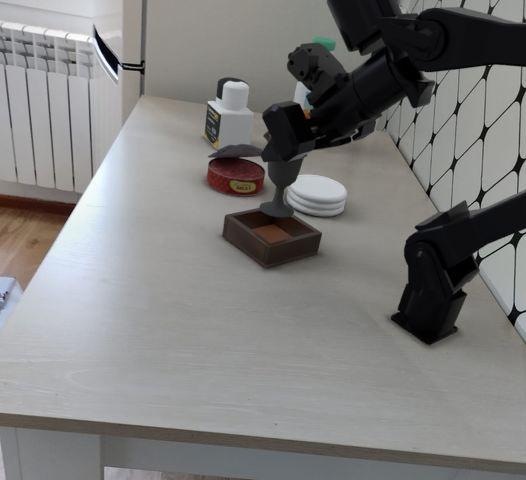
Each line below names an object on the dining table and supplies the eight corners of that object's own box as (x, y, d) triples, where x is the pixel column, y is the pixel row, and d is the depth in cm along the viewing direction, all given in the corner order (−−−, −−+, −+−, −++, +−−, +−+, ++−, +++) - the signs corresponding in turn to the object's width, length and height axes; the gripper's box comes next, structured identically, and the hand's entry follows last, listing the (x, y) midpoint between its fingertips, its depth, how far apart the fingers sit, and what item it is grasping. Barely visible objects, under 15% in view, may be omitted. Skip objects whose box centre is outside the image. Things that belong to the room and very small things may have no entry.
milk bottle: (282, 141, 124) (301, 37, 111) (291, 132, 130) (310, 32, 118) (317, 150, 123) (340, 46, 110) (325, 140, 129) (347, 40, 116)
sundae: (270, 223, 79) (289, 108, 70) (244, 202, 83) (259, 91, 74) (309, 217, 82) (332, 107, 73) (282, 197, 86) (301, 90, 77)
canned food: (207, 213, 102) (184, 158, 96) (229, 188, 109) (209, 136, 103) (265, 202, 96) (244, 143, 91) (284, 176, 104) (265, 120, 98)
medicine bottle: (203, 136, 118) (209, 73, 111) (236, 137, 121) (243, 75, 114) (216, 150, 113) (223, 85, 106) (249, 150, 116) (259, 86, 109)
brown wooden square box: (317, 254, 86) (322, 232, 84) (265, 269, 80) (269, 246, 78) (273, 224, 92) (277, 203, 90) (221, 236, 86) (224, 214, 84)
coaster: (296, 217, 95) (300, 197, 93) (278, 191, 102) (282, 172, 100) (352, 218, 98) (357, 198, 96) (330, 193, 106) (335, 174, 103)
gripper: (379, 21, 73) (292, 90, 84) (290, 25, 60) (202, 105, 71) (416, 106, 74) (326, 162, 85) (336, 127, 61) (243, 190, 73)
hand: (278, 153), depth 79 cm, fingers closed on sundae, 6 cm apart
